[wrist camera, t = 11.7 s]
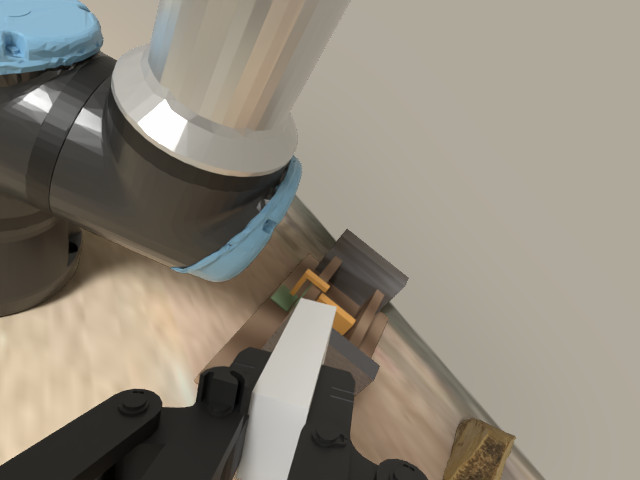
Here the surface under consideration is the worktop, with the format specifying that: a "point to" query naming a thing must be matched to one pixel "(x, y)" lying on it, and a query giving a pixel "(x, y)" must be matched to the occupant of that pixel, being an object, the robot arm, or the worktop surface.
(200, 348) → the worktop surface
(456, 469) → the rock
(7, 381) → the worktop surface
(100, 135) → the robot arm
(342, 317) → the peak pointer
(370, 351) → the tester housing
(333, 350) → the push plunger
